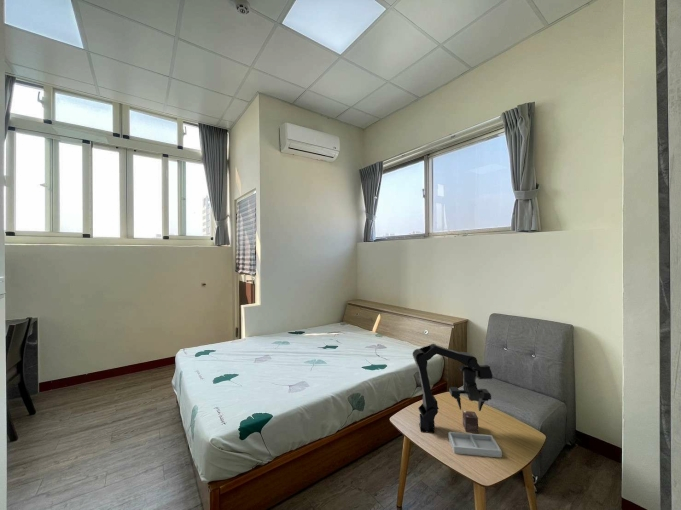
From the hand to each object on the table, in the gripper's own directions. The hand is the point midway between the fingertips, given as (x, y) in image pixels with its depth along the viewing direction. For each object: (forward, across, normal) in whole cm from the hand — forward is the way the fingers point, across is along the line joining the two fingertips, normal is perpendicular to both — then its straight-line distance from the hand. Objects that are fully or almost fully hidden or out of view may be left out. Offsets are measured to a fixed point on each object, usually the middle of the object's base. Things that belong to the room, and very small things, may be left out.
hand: (469, 410), depth 137 cm
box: (+10, 0, 0) cm, 10 cm away
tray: (+9, -3, -14) cm, 17 cm away
